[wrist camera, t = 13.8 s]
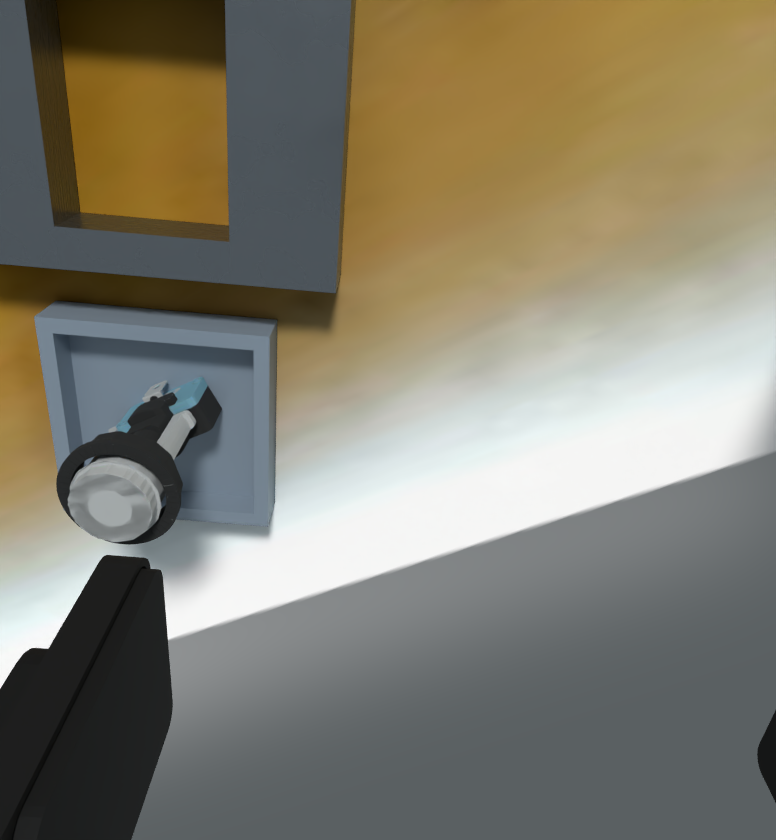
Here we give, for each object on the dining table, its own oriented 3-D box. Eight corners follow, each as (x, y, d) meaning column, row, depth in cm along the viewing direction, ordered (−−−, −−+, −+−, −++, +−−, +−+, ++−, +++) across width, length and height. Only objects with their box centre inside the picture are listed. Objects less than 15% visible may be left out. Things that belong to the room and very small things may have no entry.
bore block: (358, -50, 30) (354, -59, 28) (340, 275, 37) (335, 293, 34) (-75, -93, 30) (-122, -106, 27) (-16, 243, 36) (-48, 259, 34)
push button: (140, 466, 41) (69, 582, 32) (87, 389, 39) (-6, 491, 30) (241, 426, 40) (196, 535, 31) (191, 344, 38) (127, 436, 29)
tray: (277, 319, 38) (269, 336, 36) (274, 501, 43) (267, 526, 41) (55, 300, 38) (34, 316, 35) (81, 486, 43) (63, 510, 41)
